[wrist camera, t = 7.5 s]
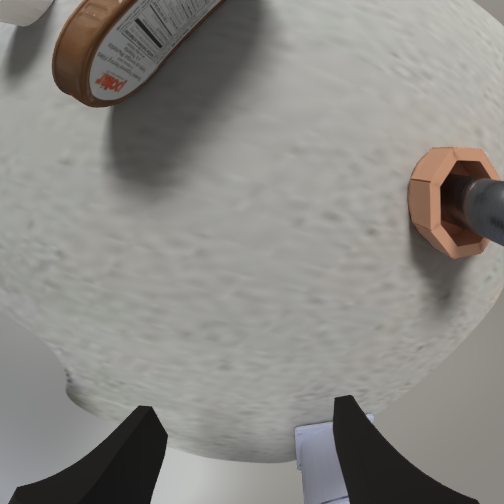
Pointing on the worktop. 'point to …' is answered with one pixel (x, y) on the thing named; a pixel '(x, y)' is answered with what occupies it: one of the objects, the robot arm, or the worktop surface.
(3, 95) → the worktop surface
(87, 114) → the worktop surface
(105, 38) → the tin
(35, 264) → the worktop surface
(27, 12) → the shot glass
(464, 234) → the cup
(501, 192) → the cell
